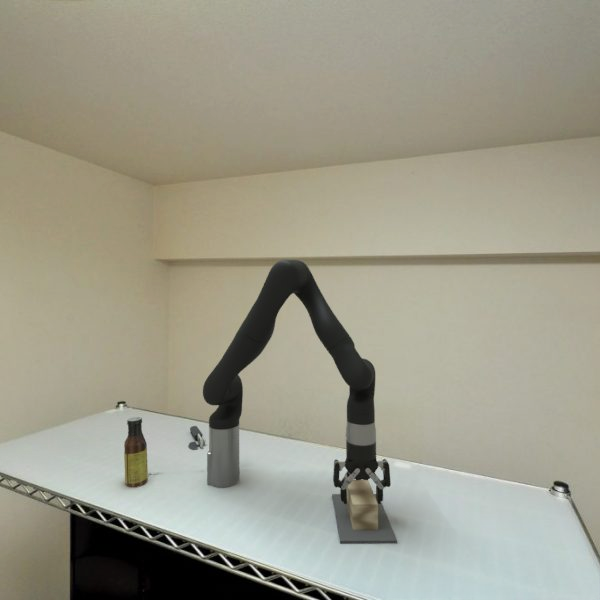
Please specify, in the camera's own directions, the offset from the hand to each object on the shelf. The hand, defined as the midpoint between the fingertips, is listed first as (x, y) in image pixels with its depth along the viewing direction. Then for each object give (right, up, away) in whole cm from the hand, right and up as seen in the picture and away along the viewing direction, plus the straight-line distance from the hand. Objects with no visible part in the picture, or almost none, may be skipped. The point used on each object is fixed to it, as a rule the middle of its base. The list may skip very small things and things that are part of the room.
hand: (361, 502), depth 92 cm
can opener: (-56, -5, +48) cm, 74 cm away
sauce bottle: (-65, -4, +17) cm, 67 cm away
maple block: (0, -3, 0) cm, 3 cm away
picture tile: (0, -4, 0) cm, 4 cm away
